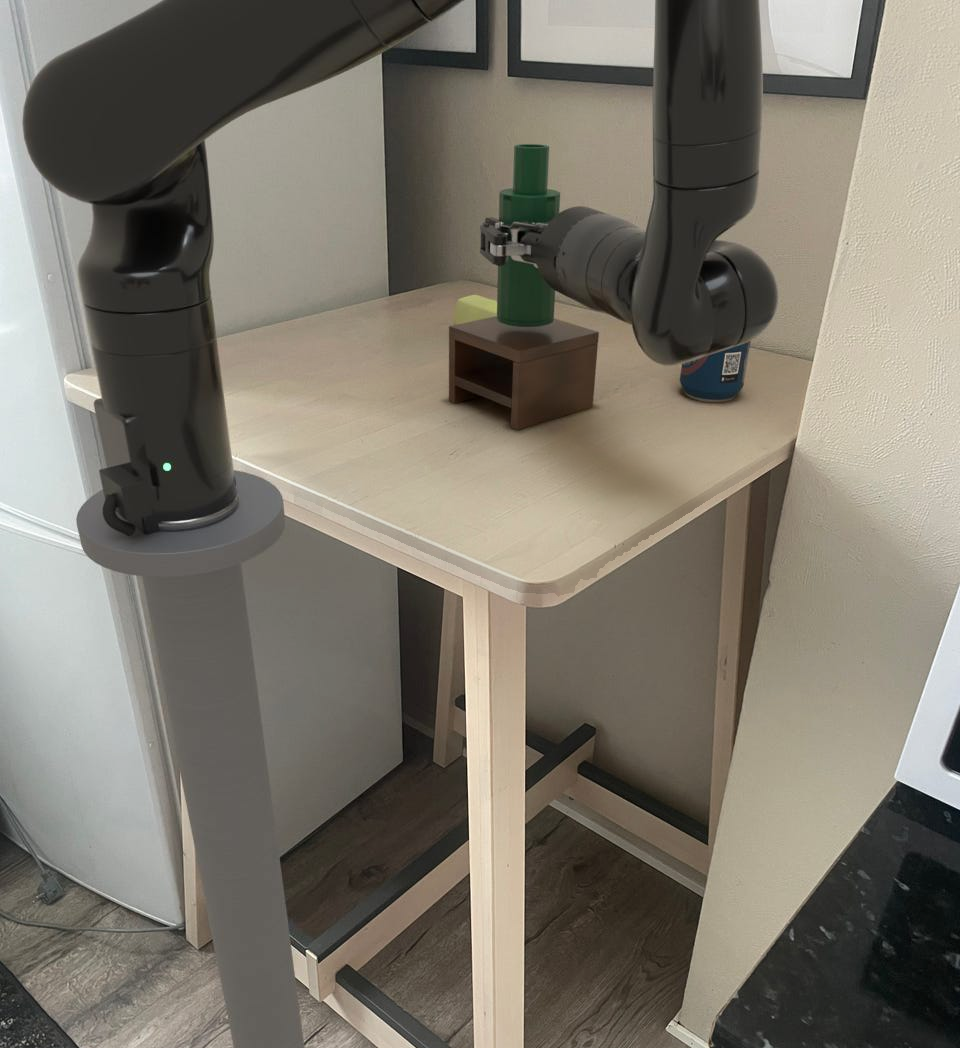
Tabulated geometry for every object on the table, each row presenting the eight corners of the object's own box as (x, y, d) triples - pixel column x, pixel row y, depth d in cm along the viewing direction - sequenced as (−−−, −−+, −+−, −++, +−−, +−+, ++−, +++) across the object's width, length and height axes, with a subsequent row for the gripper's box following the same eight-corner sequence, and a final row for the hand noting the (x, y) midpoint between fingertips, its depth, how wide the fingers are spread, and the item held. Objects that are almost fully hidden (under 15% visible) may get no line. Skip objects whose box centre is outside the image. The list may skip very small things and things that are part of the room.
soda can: (667, 386, 111) (681, 276, 105) (721, 381, 113) (738, 273, 107) (697, 407, 106) (713, 292, 99) (753, 401, 108) (773, 288, 101)
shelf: (517, 430, 99) (520, 351, 95) (448, 400, 106) (448, 326, 102) (593, 407, 105) (599, 331, 101) (523, 381, 112) (526, 309, 108)
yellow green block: (484, 301, 113) (448, 283, 130) (472, 350, 115) (438, 325, 132) (591, 328, 117) (542, 306, 135) (578, 374, 119) (532, 347, 137)
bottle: (523, 330, 97) (530, 151, 89) (485, 318, 101) (488, 144, 92) (565, 320, 100) (575, 146, 92) (526, 309, 104) (533, 141, 95)
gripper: (674, 209, 85) (584, 182, 98) (523, 218, 81) (450, 189, 94) (664, 298, 89) (579, 261, 102) (520, 312, 85) (450, 271, 98)
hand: (518, 226), depth 98 cm, fingers closed on bottle, 6 cm apart
